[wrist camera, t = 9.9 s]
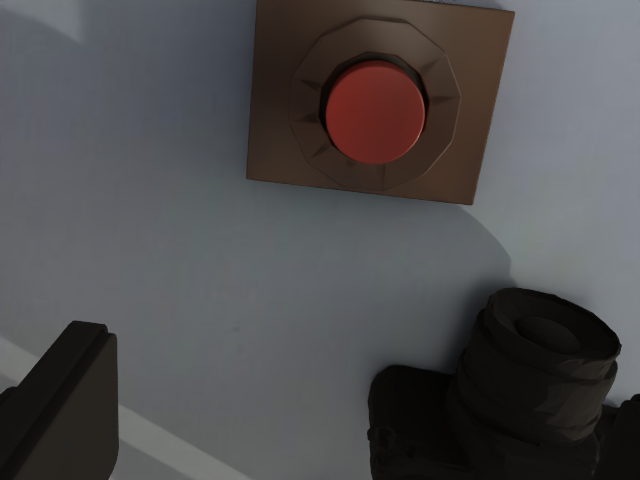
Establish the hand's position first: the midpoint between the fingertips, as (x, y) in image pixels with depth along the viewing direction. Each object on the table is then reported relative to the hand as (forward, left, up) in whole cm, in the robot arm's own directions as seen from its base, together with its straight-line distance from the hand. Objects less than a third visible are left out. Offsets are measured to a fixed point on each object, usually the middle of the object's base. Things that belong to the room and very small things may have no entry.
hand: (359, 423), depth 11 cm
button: (-1, +3, -15) cm, 15 cm away
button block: (-1, +3, -17) cm, 18 cm away
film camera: (+12, -6, -18) cm, 22 cm away
